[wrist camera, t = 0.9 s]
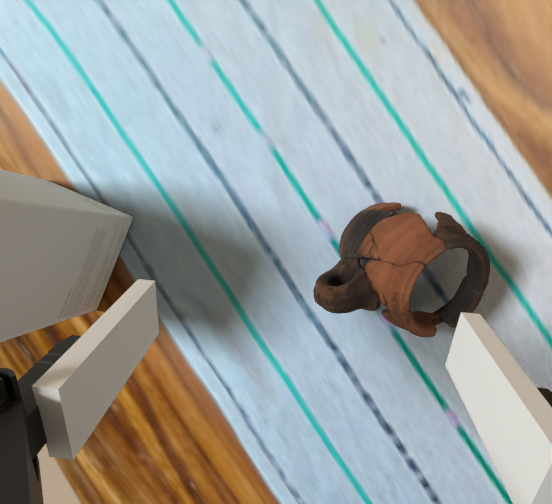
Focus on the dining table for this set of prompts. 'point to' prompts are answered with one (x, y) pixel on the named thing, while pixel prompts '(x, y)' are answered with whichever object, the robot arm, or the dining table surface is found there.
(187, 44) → the dining table surface
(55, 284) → the supplement box
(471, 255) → the pottery mug
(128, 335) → the robot arm
